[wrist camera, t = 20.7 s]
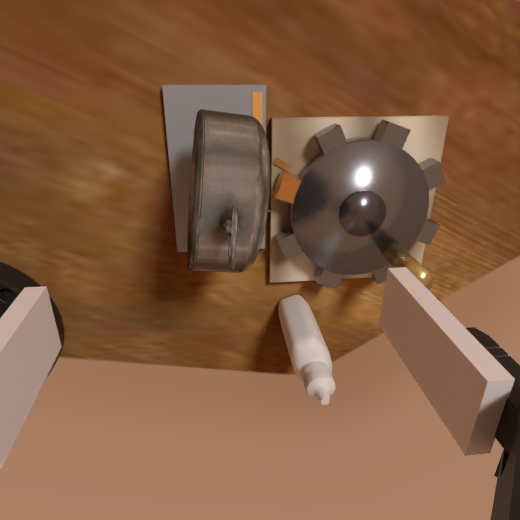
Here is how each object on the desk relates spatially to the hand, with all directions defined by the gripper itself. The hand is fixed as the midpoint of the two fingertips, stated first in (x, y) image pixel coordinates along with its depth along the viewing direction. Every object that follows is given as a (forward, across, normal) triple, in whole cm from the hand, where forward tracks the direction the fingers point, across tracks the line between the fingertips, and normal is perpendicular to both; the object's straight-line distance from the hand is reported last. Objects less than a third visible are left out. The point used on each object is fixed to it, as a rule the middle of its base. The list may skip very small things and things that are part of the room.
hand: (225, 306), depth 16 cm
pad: (+22, 0, 0) cm, 22 cm away
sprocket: (+20, +12, -3) cm, 24 cm away
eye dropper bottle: (+22, +8, -15) cm, 28 cm away
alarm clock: (+21, +1, 0) cm, 21 cm away
